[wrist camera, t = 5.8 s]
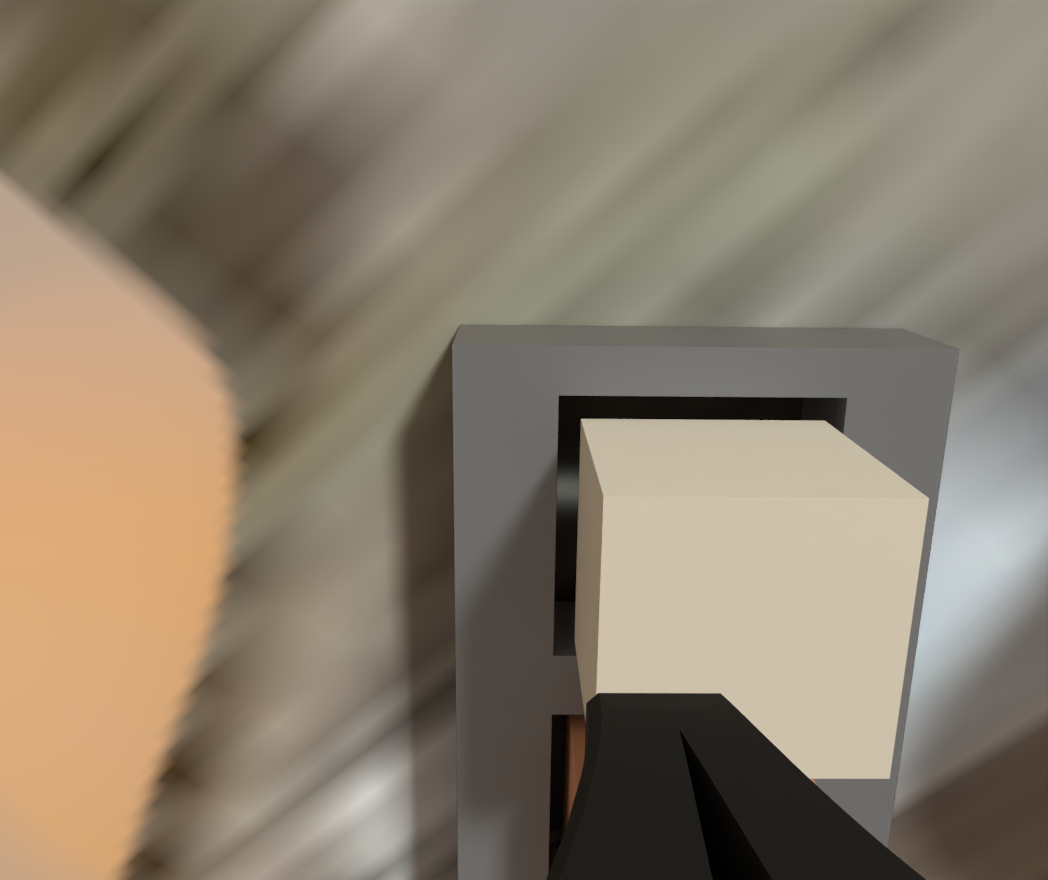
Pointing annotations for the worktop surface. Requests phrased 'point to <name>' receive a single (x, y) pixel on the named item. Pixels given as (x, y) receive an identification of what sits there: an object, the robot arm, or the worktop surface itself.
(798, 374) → the compartment tray
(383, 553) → the worktop surface
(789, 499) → the block cream
